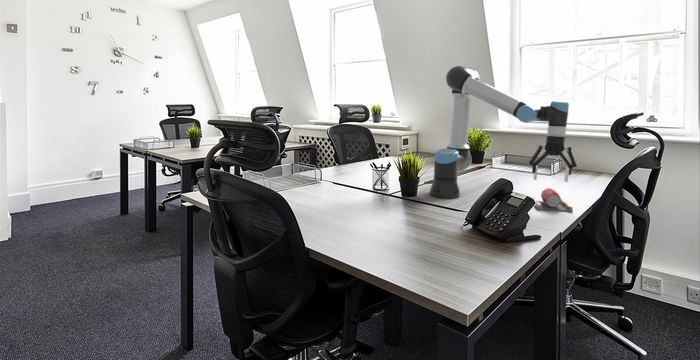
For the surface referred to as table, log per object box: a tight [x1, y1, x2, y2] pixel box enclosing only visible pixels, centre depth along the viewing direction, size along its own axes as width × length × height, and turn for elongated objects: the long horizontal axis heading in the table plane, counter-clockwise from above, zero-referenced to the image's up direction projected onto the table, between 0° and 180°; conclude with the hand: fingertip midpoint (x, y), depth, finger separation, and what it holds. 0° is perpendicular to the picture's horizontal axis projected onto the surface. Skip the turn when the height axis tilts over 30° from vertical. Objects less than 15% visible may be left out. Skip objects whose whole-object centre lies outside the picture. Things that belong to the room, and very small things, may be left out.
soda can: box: [541, 187, 562, 207], centre depth 195 cm, size 7×7×12 cm
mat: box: [534, 200, 573, 213], centre depth 195 cm, size 16×14×1 cm
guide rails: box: [532, 197, 573, 211], centre depth 195 cm, size 16×14×2 cm
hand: (550, 180), depth 197 cm, fingers open, 13 cm apart
